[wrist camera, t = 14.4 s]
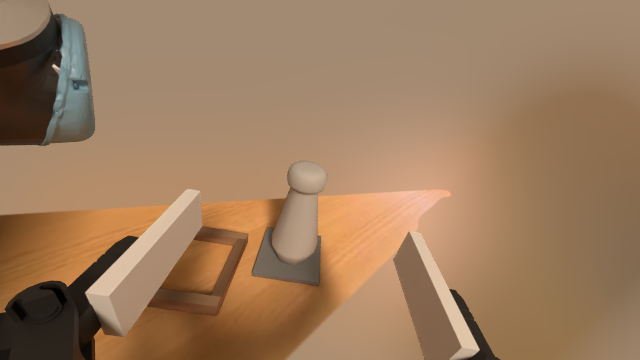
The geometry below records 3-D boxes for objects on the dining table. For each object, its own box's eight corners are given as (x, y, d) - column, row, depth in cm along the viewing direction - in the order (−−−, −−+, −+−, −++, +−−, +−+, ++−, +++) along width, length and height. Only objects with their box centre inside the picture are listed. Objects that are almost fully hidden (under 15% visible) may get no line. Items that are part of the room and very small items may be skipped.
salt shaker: (269, 237, 32) (280, 151, 26) (309, 237, 34) (328, 156, 27) (270, 272, 27) (284, 177, 21) (317, 270, 29) (342, 182, 23)
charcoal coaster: (251, 275, 27) (252, 272, 27) (267, 230, 34) (267, 226, 34) (318, 285, 28) (319, 282, 27) (320, 238, 35) (320, 235, 34)
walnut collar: (109, 301, 22) (105, 291, 21) (171, 229, 30) (170, 221, 30) (217, 315, 22) (216, 306, 22) (247, 242, 31) (248, 234, 31)
